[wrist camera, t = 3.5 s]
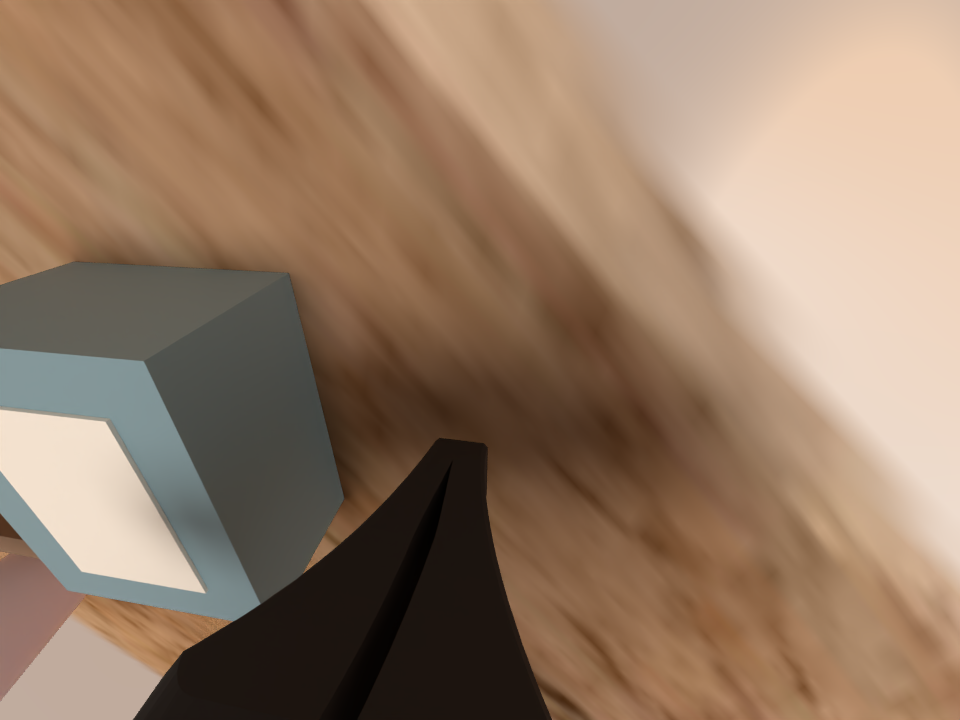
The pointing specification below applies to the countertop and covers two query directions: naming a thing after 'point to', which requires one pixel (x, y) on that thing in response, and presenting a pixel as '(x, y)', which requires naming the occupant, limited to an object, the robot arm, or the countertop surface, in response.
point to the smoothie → (28, 613)
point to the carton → (163, 433)
